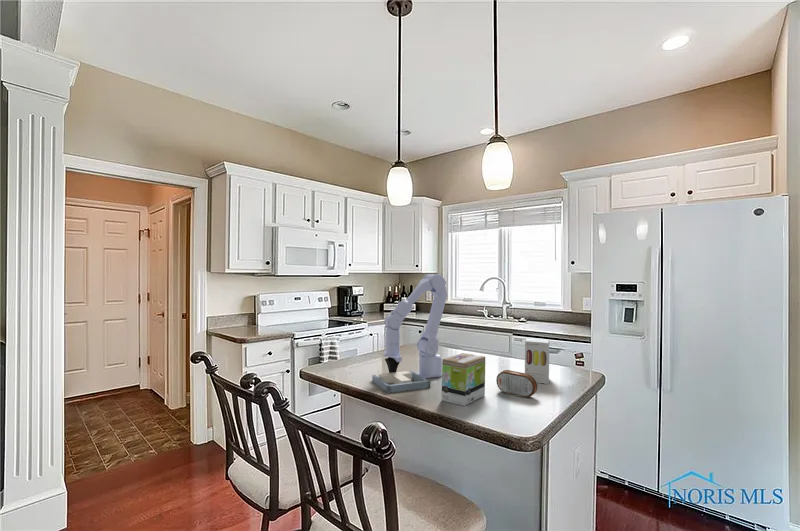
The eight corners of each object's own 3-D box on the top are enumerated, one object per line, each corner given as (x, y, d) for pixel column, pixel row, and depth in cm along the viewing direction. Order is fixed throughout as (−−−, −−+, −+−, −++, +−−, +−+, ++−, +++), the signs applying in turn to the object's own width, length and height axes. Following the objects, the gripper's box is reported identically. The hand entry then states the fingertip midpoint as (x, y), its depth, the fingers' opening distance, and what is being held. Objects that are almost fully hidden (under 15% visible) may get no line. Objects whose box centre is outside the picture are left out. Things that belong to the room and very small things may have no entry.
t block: (407, 378, 169) (407, 371, 169) (421, 386, 157) (421, 378, 157) (378, 381, 164) (379, 374, 164) (390, 390, 152) (390, 382, 152)
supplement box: (524, 381, 164) (524, 340, 164) (525, 376, 172) (526, 337, 173) (548, 384, 160) (548, 342, 160) (549, 378, 169) (549, 338, 169)
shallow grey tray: (411, 376, 171) (411, 370, 171) (430, 387, 155) (430, 381, 155) (372, 381, 164) (372, 375, 164) (387, 393, 148) (387, 386, 148)
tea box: (466, 407, 134) (466, 362, 134) (440, 401, 140) (440, 358, 140) (485, 395, 146) (485, 355, 146) (461, 390, 152) (461, 351, 152)
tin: (537, 398, 143) (537, 374, 143) (534, 400, 141) (534, 376, 141) (498, 389, 153) (499, 367, 153) (495, 391, 151) (495, 369, 151)
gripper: (377, 340, 172) (377, 372, 172) (390, 347, 159) (390, 381, 159) (392, 339, 175) (392, 370, 175) (406, 345, 162) (406, 379, 162)
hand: (392, 375), depth 167 cm, fingers closed
